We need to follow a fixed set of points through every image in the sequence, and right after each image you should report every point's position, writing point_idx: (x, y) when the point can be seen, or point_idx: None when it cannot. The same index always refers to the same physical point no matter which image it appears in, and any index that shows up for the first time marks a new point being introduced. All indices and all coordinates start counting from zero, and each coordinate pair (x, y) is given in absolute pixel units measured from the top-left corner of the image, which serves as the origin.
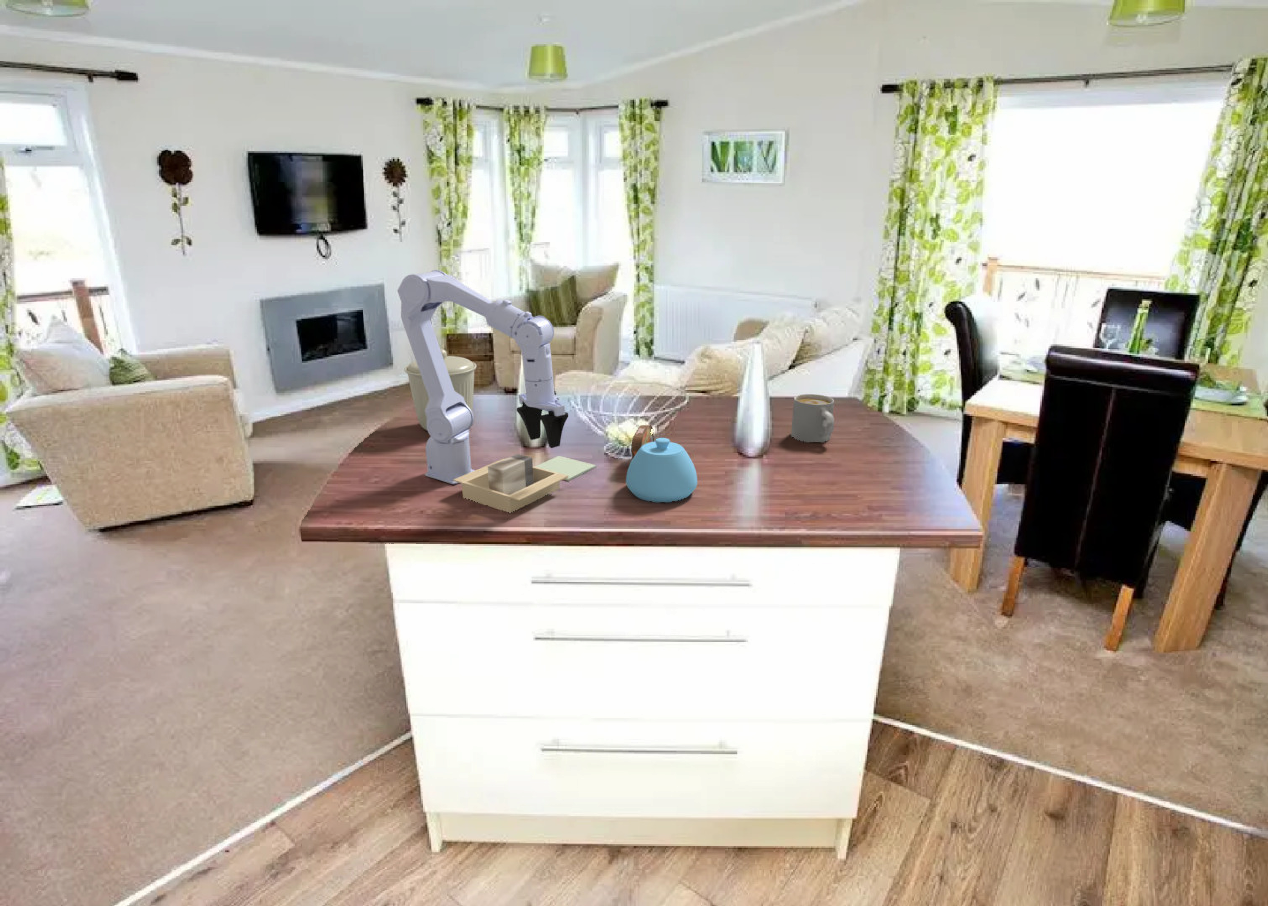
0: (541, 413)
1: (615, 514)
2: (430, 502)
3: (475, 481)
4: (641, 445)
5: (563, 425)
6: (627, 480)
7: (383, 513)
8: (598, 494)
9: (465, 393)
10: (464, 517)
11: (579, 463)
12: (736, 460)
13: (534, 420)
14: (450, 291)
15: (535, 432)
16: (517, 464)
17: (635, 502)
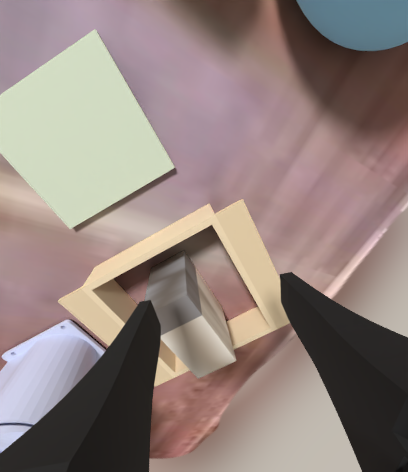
0: (107, 397)
1: (388, 148)
2: (170, 382)
3: (163, 354)
4: None
5: (381, 328)
6: (357, 38)
7: (181, 418)
8: (284, 133)
9: None
10: (242, 355)
11: (62, 81)
12: None
13: (136, 390)
14: None
15: (151, 334)
16: (213, 330)
17: (378, 65)
